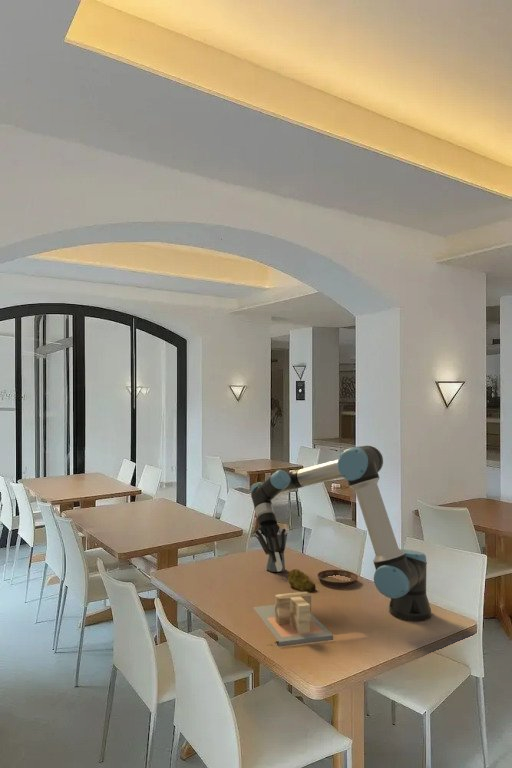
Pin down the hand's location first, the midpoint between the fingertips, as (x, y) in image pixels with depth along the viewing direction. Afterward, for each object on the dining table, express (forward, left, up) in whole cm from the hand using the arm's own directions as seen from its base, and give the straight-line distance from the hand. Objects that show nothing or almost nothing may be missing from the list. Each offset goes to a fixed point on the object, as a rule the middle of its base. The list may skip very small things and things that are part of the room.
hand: (279, 569), depth 203 cm
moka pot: (+34, -33, -15) cm, 49 cm away
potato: (+7, -21, -15) cm, 27 cm away
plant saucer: (+5, -42, -15) cm, 44 cm away
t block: (-17, +9, -13) cm, 24 cm away
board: (-12, +7, -15) cm, 21 cm away
